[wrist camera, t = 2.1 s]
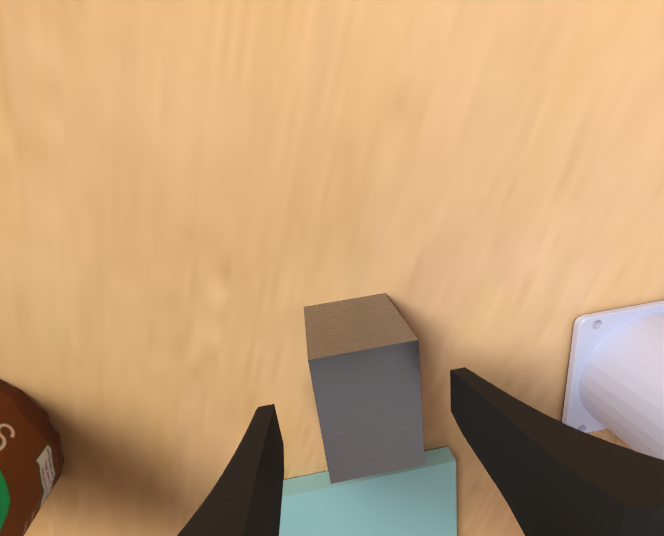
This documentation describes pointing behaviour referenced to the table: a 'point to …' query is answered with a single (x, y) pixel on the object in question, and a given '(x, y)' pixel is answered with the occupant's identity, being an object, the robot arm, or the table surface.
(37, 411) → the food container
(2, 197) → the table surface
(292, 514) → the teal board
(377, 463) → the block
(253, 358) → the table surface
